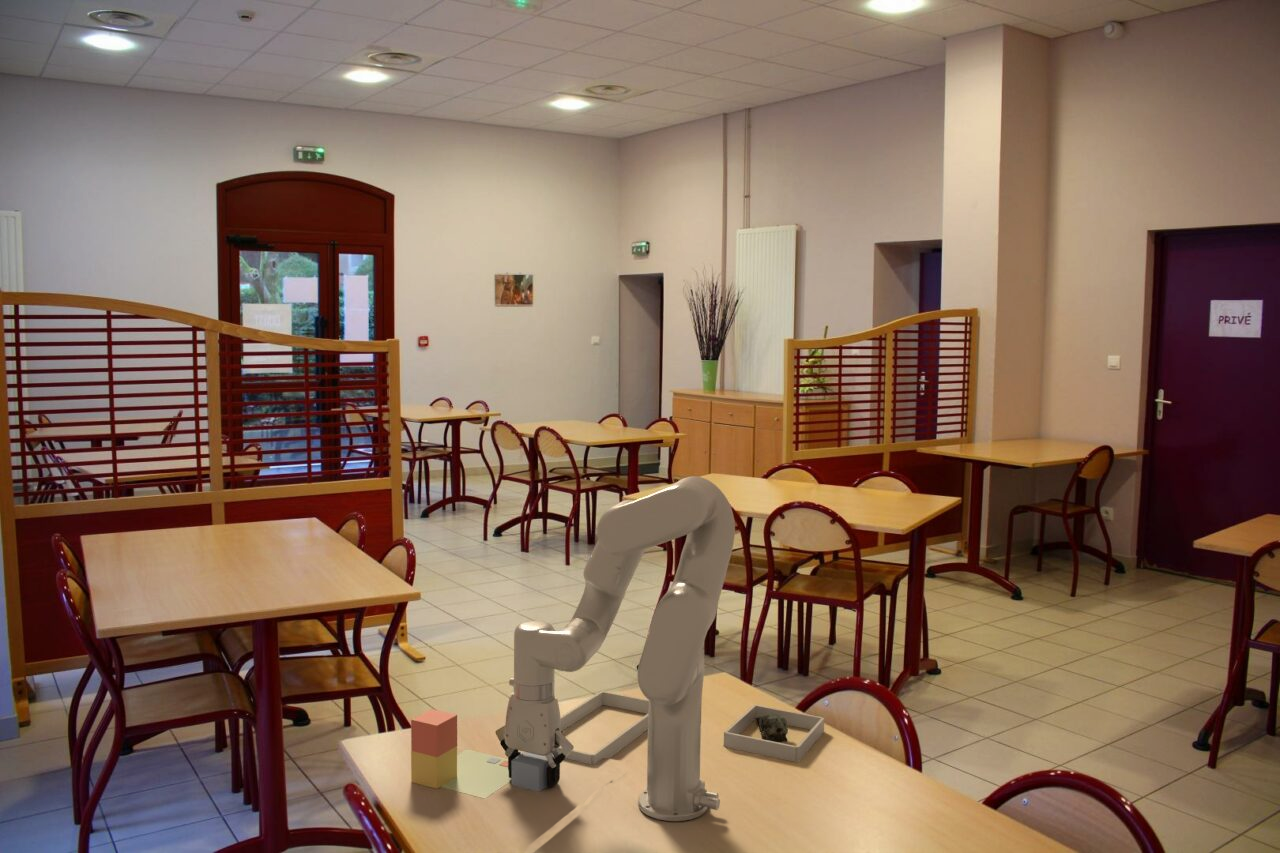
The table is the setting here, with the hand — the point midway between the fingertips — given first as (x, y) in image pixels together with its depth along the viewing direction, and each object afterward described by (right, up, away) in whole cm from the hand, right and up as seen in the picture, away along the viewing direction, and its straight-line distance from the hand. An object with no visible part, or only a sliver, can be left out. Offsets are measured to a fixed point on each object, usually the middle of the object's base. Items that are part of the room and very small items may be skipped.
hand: (533, 779), depth 188 cm
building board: (-12, -1, +4) cm, 12 cm away
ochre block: (-19, 0, +1) cm, 19 cm away
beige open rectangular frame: (+11, +1, +26) cm, 28 cm away
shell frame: (+49, 0, +25) cm, 54 cm away
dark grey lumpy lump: (+47, 0, +28) cm, 55 cm away
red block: (-19, +6, 0) cm, 20 cm away
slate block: (0, -2, 0) cm, 2 cm away
